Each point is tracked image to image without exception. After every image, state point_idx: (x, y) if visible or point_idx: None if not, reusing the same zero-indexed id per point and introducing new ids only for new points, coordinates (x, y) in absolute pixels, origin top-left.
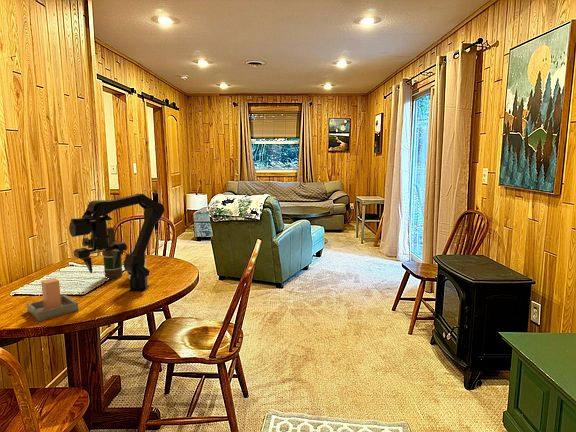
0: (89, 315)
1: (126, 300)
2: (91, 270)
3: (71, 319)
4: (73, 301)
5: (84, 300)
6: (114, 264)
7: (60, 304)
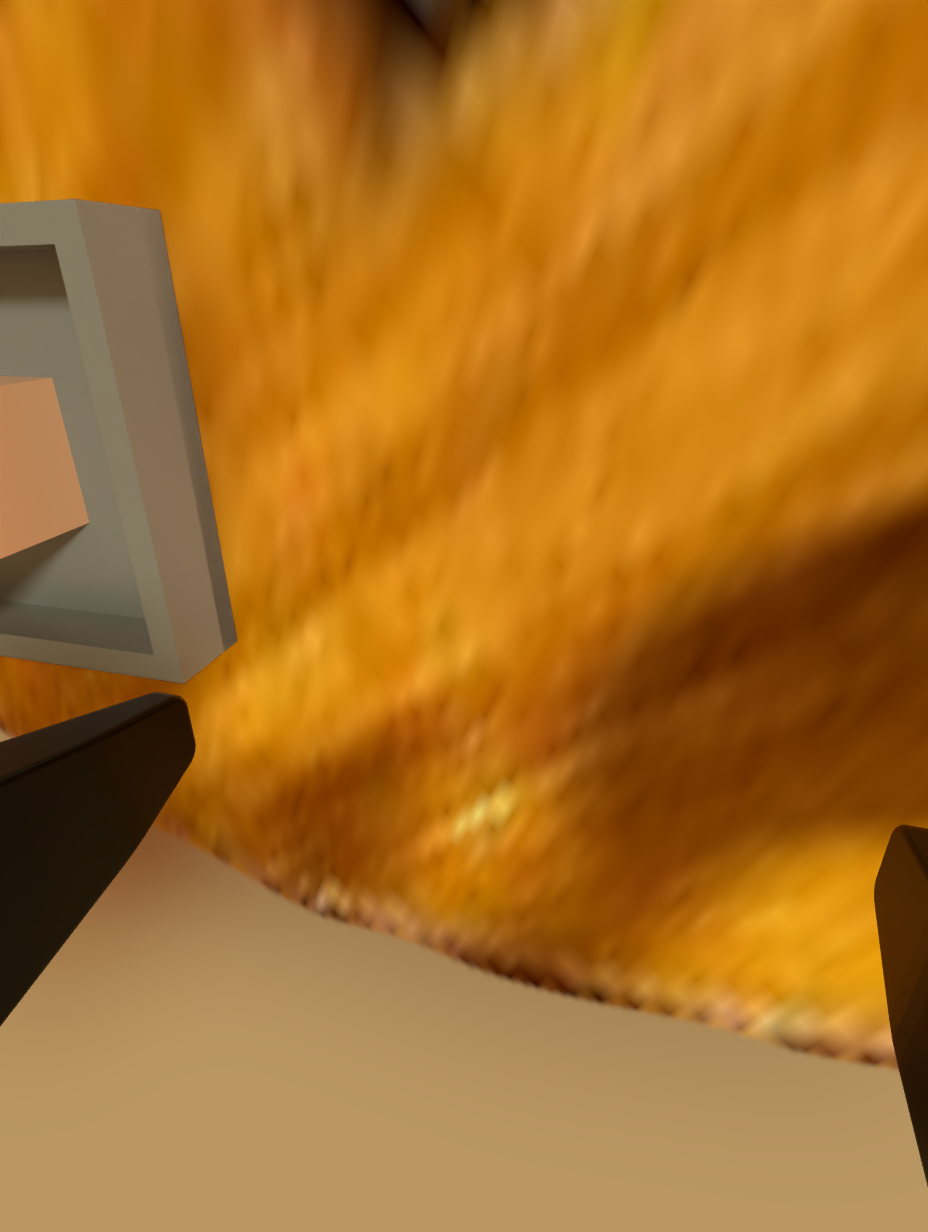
0: (291, 813)
1: (739, 784)
2: (125, 831)
3: None
4: (151, 597)
5: (365, 350)
6: (910, 1036)
7: (38, 540)
